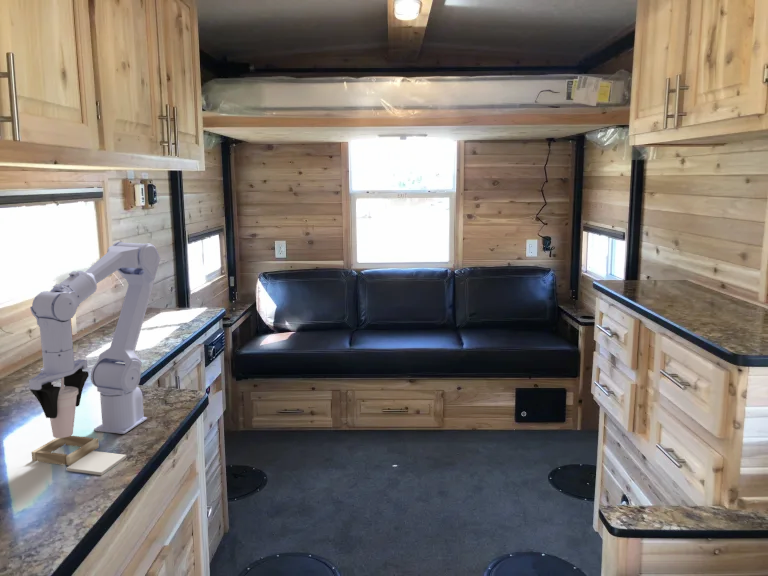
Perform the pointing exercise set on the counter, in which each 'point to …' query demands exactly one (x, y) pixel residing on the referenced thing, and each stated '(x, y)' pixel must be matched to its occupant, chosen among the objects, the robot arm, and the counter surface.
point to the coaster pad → (96, 462)
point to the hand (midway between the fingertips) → (63, 411)
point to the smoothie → (65, 411)
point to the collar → (47, 456)
